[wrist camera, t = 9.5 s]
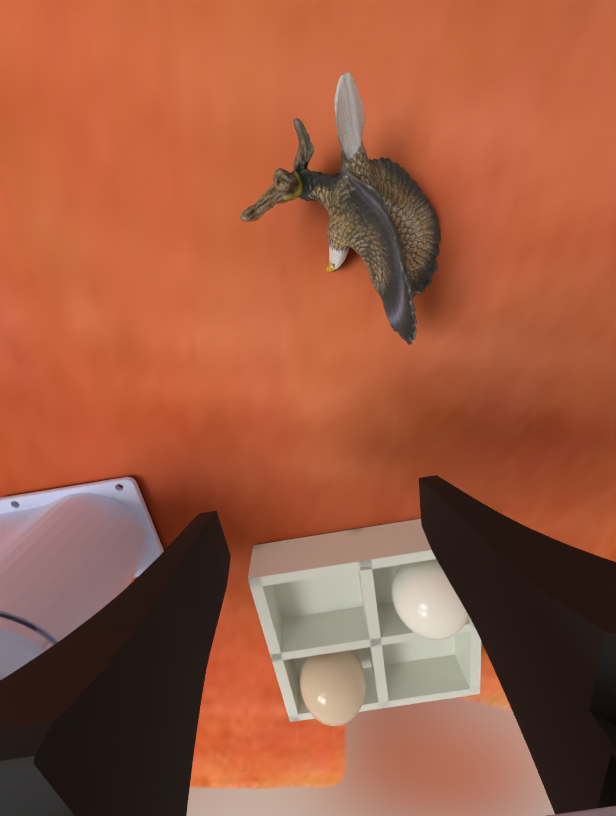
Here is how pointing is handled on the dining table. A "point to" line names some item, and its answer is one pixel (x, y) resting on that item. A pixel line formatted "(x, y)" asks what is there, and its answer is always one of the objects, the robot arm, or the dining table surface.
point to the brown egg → (333, 686)
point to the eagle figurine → (366, 212)
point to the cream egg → (427, 600)
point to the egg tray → (356, 616)
